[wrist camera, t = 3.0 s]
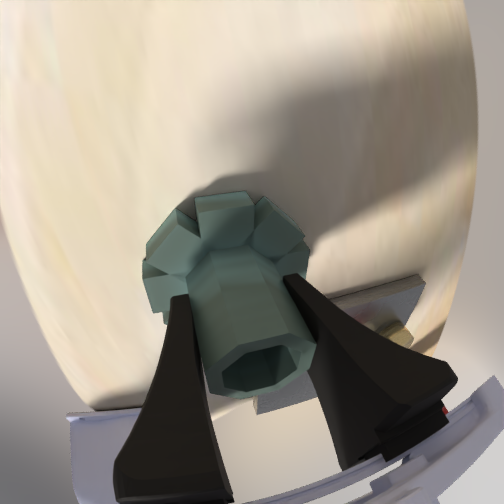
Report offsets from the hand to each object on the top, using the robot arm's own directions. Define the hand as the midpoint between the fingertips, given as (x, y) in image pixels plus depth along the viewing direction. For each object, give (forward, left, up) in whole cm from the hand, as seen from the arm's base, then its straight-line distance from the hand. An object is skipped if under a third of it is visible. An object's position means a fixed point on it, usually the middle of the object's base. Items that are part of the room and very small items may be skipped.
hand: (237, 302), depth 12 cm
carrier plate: (+7, -10, -2) cm, 13 cm away
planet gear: (0, 0, -2) cm, 2 cm away
